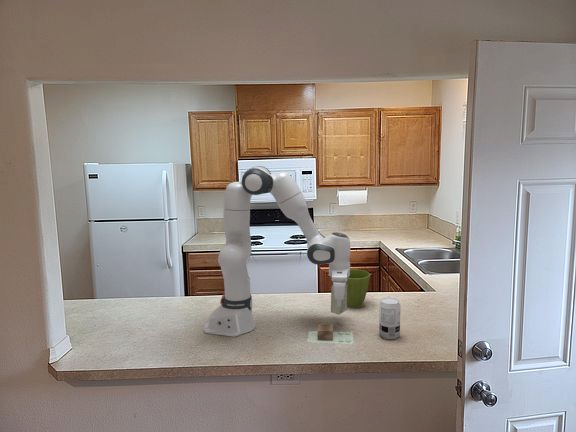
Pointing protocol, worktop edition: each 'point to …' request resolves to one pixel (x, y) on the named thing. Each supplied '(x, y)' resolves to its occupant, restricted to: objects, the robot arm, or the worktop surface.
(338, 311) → the skincare box
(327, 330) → the walnut brick
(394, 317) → the supplement can
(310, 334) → the base board
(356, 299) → the flower pot
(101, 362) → the worktop surface
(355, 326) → the worktop surface
